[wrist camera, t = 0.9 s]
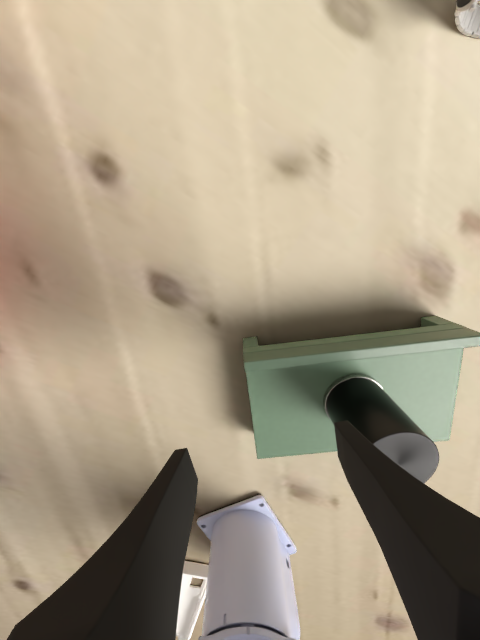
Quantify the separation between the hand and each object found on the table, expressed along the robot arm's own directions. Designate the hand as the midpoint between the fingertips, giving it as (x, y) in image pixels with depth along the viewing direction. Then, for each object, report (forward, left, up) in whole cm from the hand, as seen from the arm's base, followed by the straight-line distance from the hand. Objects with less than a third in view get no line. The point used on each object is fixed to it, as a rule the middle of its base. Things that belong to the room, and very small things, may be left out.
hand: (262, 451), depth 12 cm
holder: (-5, -6, -7) cm, 11 cm away
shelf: (-5, -6, -10) cm, 13 cm away
